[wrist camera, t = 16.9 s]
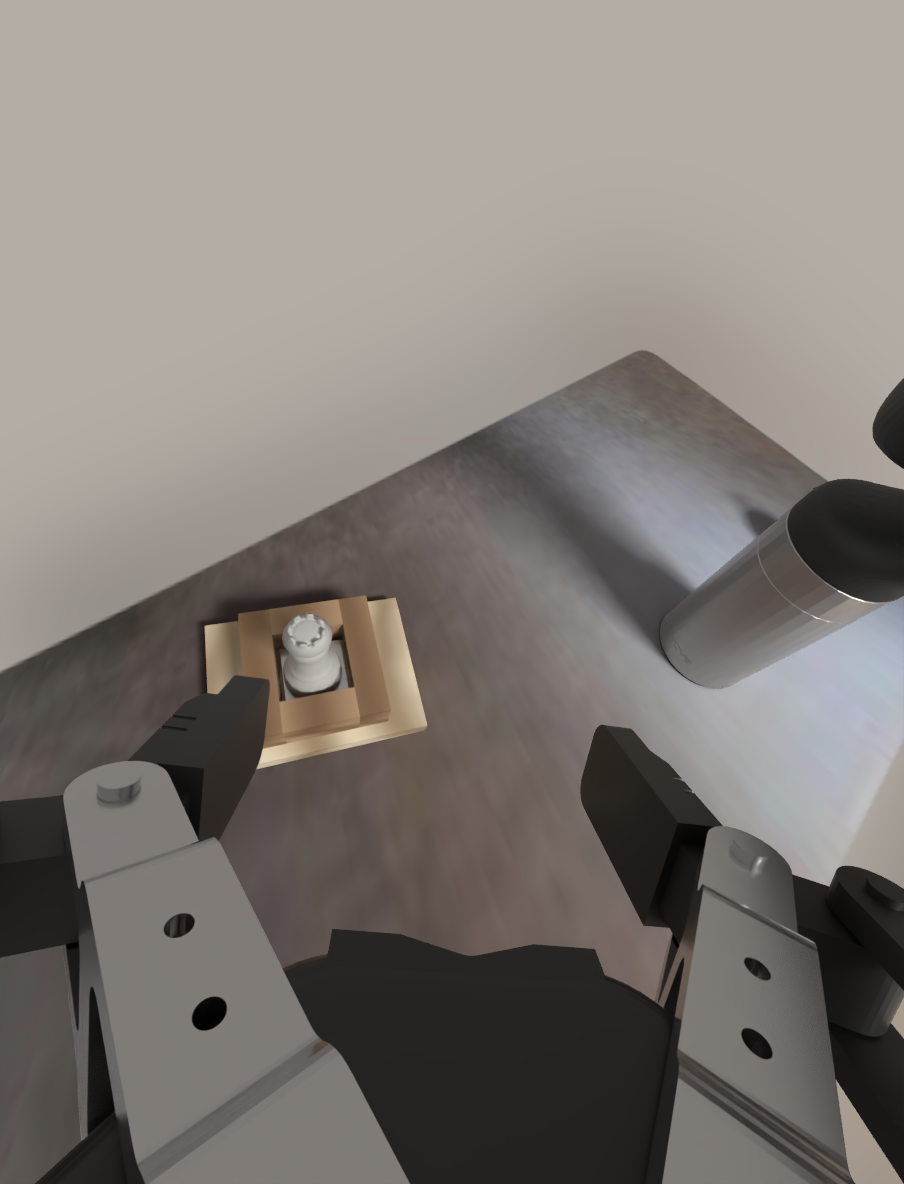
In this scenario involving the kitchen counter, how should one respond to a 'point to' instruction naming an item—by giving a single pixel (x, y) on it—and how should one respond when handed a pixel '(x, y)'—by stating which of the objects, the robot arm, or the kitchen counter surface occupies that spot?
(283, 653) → the plate
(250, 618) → the press socket
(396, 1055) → the robot arm
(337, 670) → the rook chess piece
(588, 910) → the kitchen counter surface
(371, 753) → the kitchen counter surface
